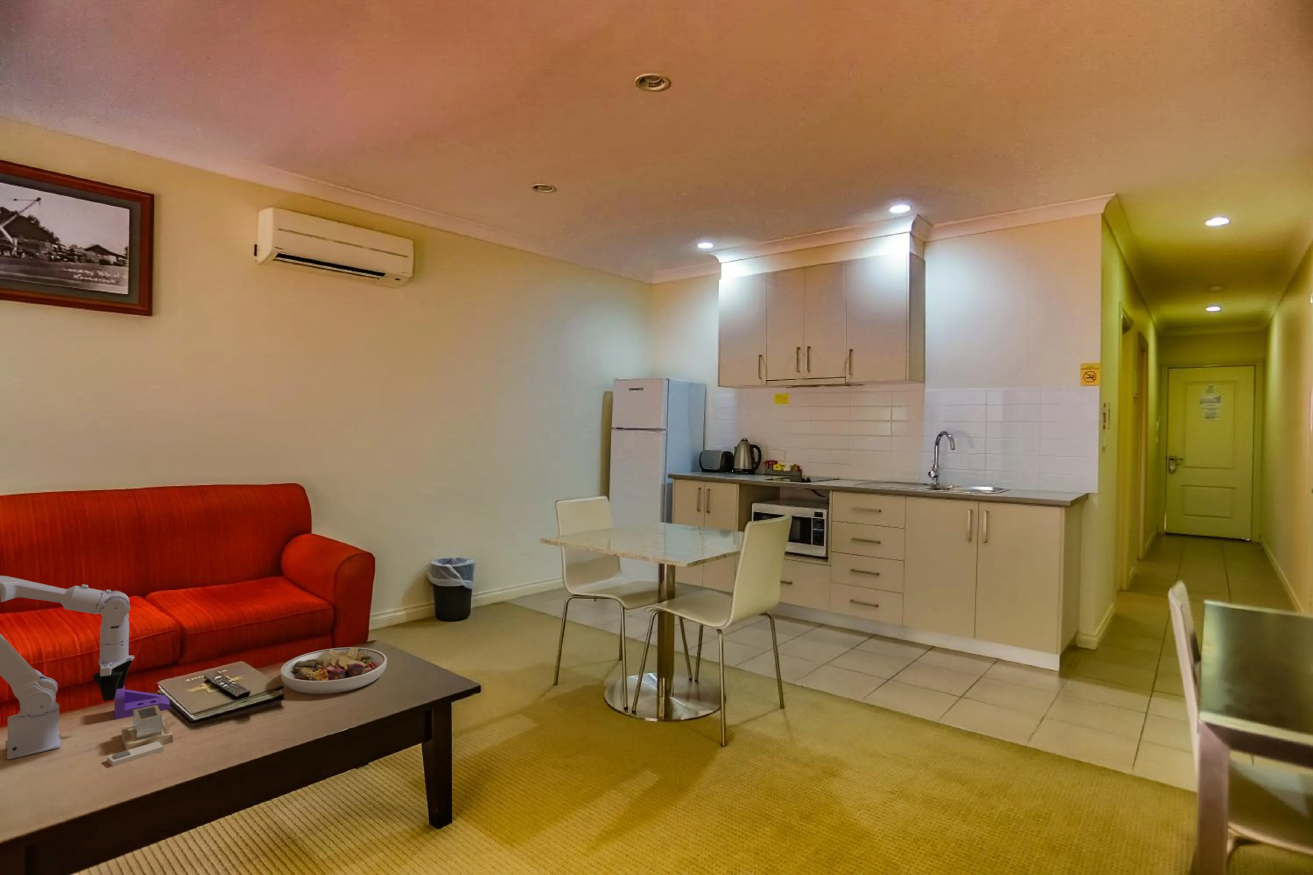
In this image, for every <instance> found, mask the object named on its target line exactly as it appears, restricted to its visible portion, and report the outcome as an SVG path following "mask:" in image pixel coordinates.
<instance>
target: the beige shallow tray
mask: <svg viewBox="0 0 1313 875" xmlns="http://www.w3.org/2000/svg"><path fill="white" fill-rule="evenodd" d="M121 738H122V740H123V743H124V747H125V751H126V750H130V749H133V748H137V747H140V746H143V745H147V744H150V743H153V742H157V741H158V742H159V743H161V744H162V745H166V744H171V743H173V740H174V739H173V738H174V734H173V731H172V730H171V727H170V725H169V723H168V721H167V718H166V717H162V735H159V736H155V737H151V738H147V739H142V740H138V741H137V740H136V738H135V735H134V732H133V724H129V725H125V726H122V727H121Z"/></svg>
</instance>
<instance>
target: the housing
mask: <svg viewBox="0 0 1313 875" xmlns="http://www.w3.org/2000/svg"><path fill="white" fill-rule="evenodd" d="M162 718H163V714H162V711H160V709H159V707H158V705H155V706H150V707H145V708H140V709H135V710H133V716H132V725H133V732H134V735H135V738H136V740H137V741H138V740H142V739H147V738H151V737H155V736H159V735H162Z"/></svg>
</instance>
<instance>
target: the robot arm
mask: <svg viewBox="0 0 1313 875" xmlns="http://www.w3.org/2000/svg"><path fill="white" fill-rule="evenodd" d="M15 598H25V599H32V600H39V601H47V602H52V603H60V604H61V605H62V606H63V608H64V610H70V611H75V612H81V613H87V614H93V615H99V614H100V615H101V617H102V618H101V619H102V620H101V624H100V628H99V629H100V631H99V632H100V636H99V637H100V638H99V659H98V664H99V667H100V669H99V670H100V671H99V672H95V673H94V674H93V680H94V681H95V683H96V684H97V686H98V687H99V690H100V694H101V698H102V701H104V702H108V701H115V695H116V691H117V689H122V688H123V687H124V686H125V683H126V680H127V679H126V678H127V675H128V672H129V670H130V667H131V664H132V663H133V662H134V659H135V655H129V648H130V647H129V646H130V645H129V644H130V643H129V642H130V640H129V638H130V621H129V619H130V616H129V615H130V614H129V612H130V611H131V606H130V605H131V604H130V598H129V597H128V595H127V594H125V593H124V592H122V591H119V590H114V591H113V590H111V589H106V590H100V589H96V588H90V587H89V585H88V584H81V586H79V585H73V586H72V587H69V588H62V587H58V586H53V585H48V584H45V583H40V582H34V581H30V580H26V579H23V578H22V579H21V578H18V577H12V576H7V575H0V603H3V602H7V601H9V600H13V599H15ZM0 677H1V678H2V679H3V680H4V681H5V682H6V683H7V684H8V685H9V686H10V688H11V690H12V693H13V695H14V697H15V698H16V699H17V700H18V701H19V708H20V709H19V711H18V712H17V714H16V713H15V714H13V715H10V716H7V740H5V750H6V751H7V752H6V755H7V756H6V759H7V760H13V759H16V758H17V759H18V758H22V757H26V756H29V755H34V754H38V753H43V752H48V751H53V750H56V749H60V748H62V741H61V735H60V734H59V731H60V727H59V726H60V725H59V724H60V704H59V703H58V702H56V700H57V698H56V695H57V693H58V689H59V685H58V682H57V681H56V680H55V679H53V678H51V677H49V676H48V677H47V676H45V675H44V674H43V673H41V671H39V670H37V669H35V668H33V666H31V665H30V664H29V663H28V661H26V659H24V657H23V656H22V655H21V654H20V653H19V652H18V651H17V650H16V649H15V648H14V647H13V645H12V644H10V642H9V641H8V640H7V639H6V638H5V637H4V636H3V635H2V633H0Z"/></svg>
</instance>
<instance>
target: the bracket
mask: <svg viewBox="0 0 1313 875" xmlns="http://www.w3.org/2000/svg"><path fill="white" fill-rule="evenodd" d="M125 687H126V686H125V685H124V687H123V688H122V689H117V691H116V695H115V698H114V720H119V719H125V718H130V717H133V710H135V709H140V708H145V707H150V706H155V705H158V707H159V709H160V712H163V711H167V710H171V703H170V702H171V701H170V698H169V699H168V698H167V697H166V696H167V695H163V694H156V693H152V692H144V691H140V690H139V691H137V690H130V689H125Z"/></svg>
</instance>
